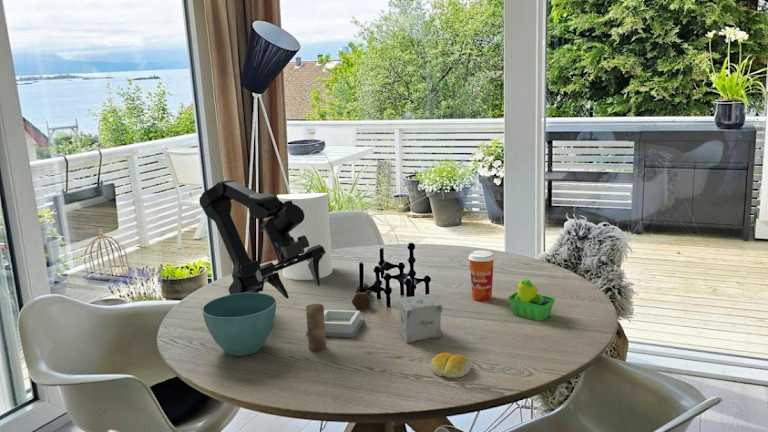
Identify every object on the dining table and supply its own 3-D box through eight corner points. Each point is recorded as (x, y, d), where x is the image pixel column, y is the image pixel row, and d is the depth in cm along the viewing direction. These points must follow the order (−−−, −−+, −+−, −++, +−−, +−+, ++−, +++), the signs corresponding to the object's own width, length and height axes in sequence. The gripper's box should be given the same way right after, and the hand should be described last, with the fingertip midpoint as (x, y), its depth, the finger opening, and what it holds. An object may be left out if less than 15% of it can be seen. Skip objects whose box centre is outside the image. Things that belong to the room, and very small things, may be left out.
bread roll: (440, 360, 164) (440, 345, 163) (474, 368, 159) (474, 352, 158) (423, 374, 157) (423, 358, 156) (458, 382, 152) (458, 365, 151)
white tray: (306, 335, 182) (305, 323, 182) (319, 319, 194) (318, 307, 193) (353, 337, 180) (352, 324, 179) (363, 320, 191) (363, 309, 190)
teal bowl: (245, 370, 163) (240, 321, 160) (191, 356, 172) (186, 310, 170) (293, 343, 178) (290, 298, 175) (242, 331, 187) (238, 288, 185)
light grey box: (407, 345, 173) (406, 306, 171) (397, 333, 181) (396, 296, 179) (443, 339, 176) (442, 301, 174) (432, 328, 184) (431, 291, 181)
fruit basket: (556, 315, 189) (556, 276, 187) (539, 325, 183) (540, 284, 180) (520, 307, 197) (520, 269, 194) (503, 315, 190) (503, 277, 188)
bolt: (367, 298, 215) (364, 314, 200) (353, 291, 215) (349, 306, 200) (375, 283, 214) (373, 297, 199) (361, 275, 214) (358, 289, 199)
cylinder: (330, 279, 230) (325, 197, 224) (279, 281, 231) (272, 199, 225) (334, 264, 247) (329, 188, 241) (286, 266, 248) (281, 190, 242)
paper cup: (466, 301, 203) (465, 256, 200) (472, 293, 210) (472, 249, 207) (492, 303, 200) (491, 257, 197) (497, 295, 207) (497, 251, 204)
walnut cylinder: (306, 350, 172) (303, 309, 170) (311, 343, 177) (309, 303, 174) (323, 351, 171) (320, 310, 169) (328, 344, 176) (325, 304, 173)
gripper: (253, 240, 172) (277, 297, 169) (318, 218, 180) (343, 271, 177) (245, 253, 182) (268, 307, 179) (308, 231, 190) (331, 282, 187)
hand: (303, 291), depth 180 cm, fingers open, 9 cm apart
